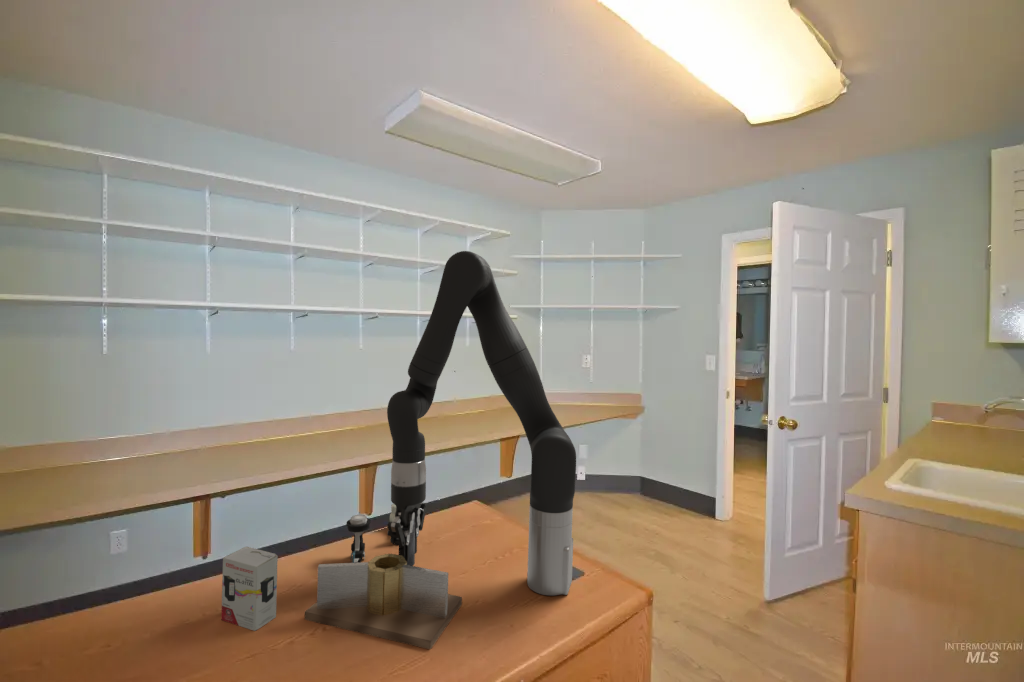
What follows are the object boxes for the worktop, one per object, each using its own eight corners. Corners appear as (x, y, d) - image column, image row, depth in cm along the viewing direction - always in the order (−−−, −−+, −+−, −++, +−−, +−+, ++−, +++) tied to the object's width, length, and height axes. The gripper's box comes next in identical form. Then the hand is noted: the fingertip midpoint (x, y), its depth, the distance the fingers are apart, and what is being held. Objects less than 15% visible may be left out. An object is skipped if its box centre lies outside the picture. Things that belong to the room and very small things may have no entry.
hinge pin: (417, 561, 107) (417, 517, 106) (410, 568, 104) (410, 522, 104) (405, 559, 108) (405, 515, 107) (398, 566, 105) (398, 521, 104)
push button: (367, 567, 107) (368, 524, 107) (342, 569, 106) (343, 524, 106) (370, 554, 114) (371, 512, 114) (347, 555, 113) (348, 513, 113)
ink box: (219, 620, 87) (220, 556, 87) (243, 606, 92) (243, 545, 91) (255, 632, 84) (256, 566, 84) (277, 616, 89) (278, 554, 88)
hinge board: (461, 604, 94) (462, 596, 94) (430, 649, 81) (430, 640, 81) (350, 581, 102) (350, 574, 101) (304, 619, 88) (304, 611, 88)
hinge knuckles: (453, 606, 91) (454, 565, 91) (432, 635, 82) (433, 590, 82) (345, 584, 98) (346, 545, 98) (315, 608, 89) (316, 566, 89)
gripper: (408, 491, 97) (407, 575, 98) (437, 472, 111) (437, 545, 111) (375, 487, 100) (375, 569, 100) (409, 469, 113) (408, 541, 114)
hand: (407, 556), depth 106 cm, fingers closed on hinge pin, 3 cm apart
